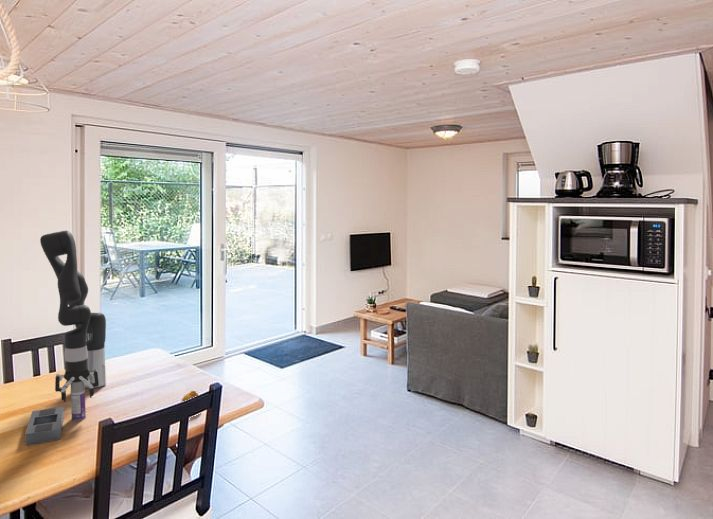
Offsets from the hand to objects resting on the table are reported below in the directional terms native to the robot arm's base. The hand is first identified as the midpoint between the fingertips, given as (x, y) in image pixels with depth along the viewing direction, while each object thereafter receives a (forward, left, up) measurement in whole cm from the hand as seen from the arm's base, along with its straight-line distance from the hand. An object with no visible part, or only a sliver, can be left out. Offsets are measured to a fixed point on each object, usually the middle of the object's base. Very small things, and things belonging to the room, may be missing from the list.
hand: (77, 398), depth 183 cm
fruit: (-40, +10, -8) cm, 42 cm away
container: (0, 0, -8) cm, 8 cm away
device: (+10, +6, -8) cm, 14 cm away
